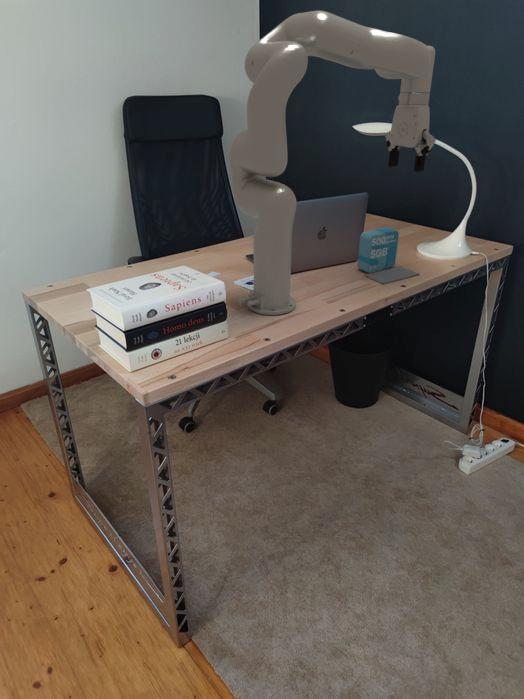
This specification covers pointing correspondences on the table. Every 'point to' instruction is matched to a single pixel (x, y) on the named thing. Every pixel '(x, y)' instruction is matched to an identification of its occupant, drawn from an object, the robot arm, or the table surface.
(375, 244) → the data package
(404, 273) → the mat
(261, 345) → the table surface
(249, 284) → the table surface
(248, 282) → the table surface
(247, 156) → the robot arm
